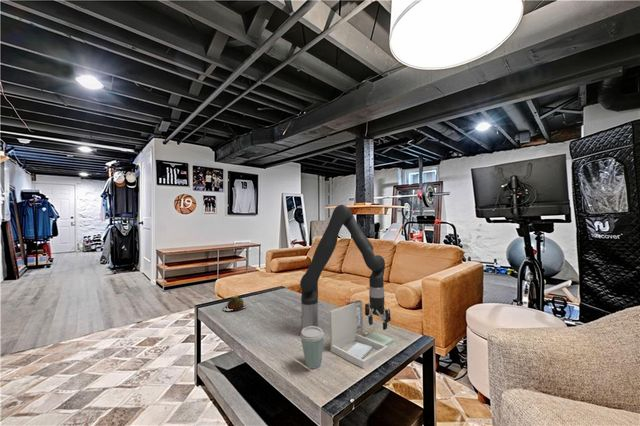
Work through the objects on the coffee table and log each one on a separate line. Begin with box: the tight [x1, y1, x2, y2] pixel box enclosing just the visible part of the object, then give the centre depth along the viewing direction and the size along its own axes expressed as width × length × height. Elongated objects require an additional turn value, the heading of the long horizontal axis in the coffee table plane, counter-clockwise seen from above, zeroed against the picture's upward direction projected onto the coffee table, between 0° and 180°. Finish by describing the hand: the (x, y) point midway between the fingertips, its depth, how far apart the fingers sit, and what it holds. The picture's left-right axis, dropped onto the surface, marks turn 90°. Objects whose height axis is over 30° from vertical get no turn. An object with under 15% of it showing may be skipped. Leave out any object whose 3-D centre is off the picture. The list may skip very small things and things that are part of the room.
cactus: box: [226, 294, 245, 311], centre depth 189 cm, size 17×16×10 cm
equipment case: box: [329, 301, 389, 369], centre depth 124 cm, size 19×20×19 cm
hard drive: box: [347, 342, 373, 359], centre depth 123 cm, size 2×8×12 cm
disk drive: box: [345, 299, 364, 329], centre depth 151 cm, size 10×3×15 cm, turn 122°
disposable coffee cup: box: [299, 326, 325, 370], centre depth 115 cm, size 11×11×15 cm
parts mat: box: [365, 331, 395, 347], centre depth 134 cm, size 10×12×2 cm
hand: (377, 326), depth 134 cm, fingers open, 8 cm apart
